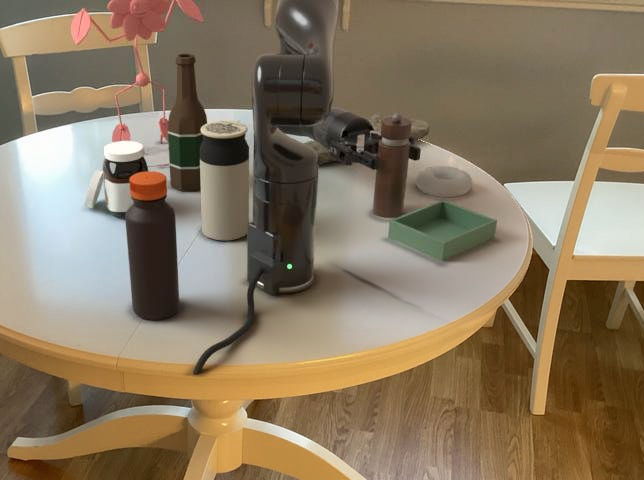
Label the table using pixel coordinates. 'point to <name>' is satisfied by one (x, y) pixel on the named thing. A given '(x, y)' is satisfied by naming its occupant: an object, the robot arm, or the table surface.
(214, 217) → the travel mug
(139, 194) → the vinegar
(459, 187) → the donut
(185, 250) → the table surface
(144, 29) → the figurine
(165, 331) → the table surface
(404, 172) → the pepper mill
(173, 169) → the beer bottle
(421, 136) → the elongated rock
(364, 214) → the table surface
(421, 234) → the green shallow open box
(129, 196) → the spread jar
